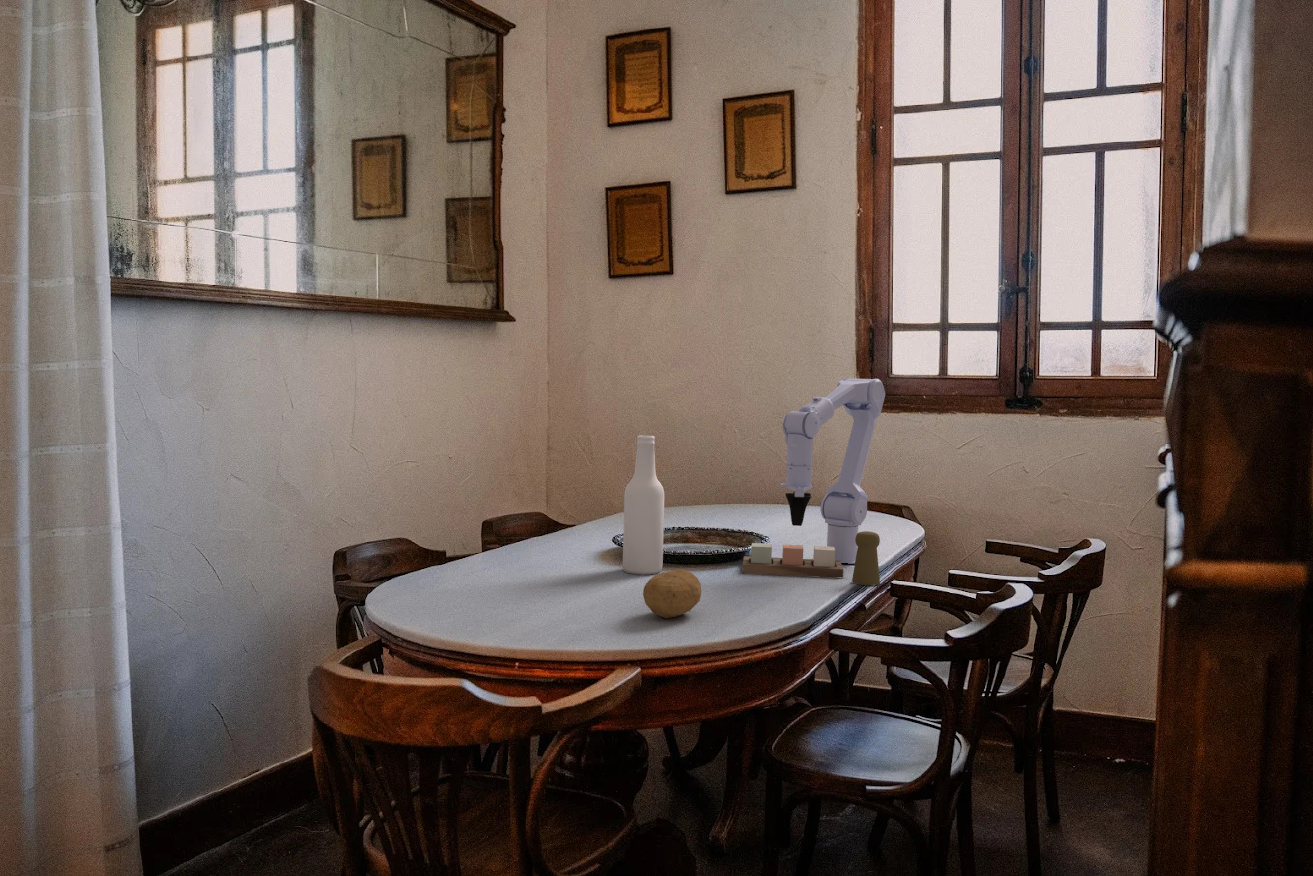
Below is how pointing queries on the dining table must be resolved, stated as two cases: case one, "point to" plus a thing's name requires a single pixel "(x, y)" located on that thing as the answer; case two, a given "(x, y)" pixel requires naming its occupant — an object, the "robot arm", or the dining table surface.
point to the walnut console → (792, 568)
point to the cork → (866, 559)
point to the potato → (672, 593)
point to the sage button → (761, 553)
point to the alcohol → (643, 514)
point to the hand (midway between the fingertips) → (796, 525)
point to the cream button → (824, 556)
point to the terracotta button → (792, 555)
